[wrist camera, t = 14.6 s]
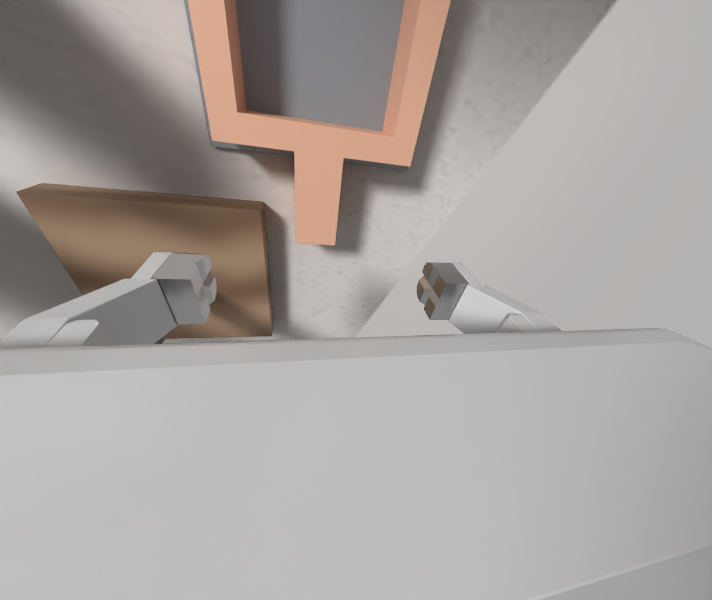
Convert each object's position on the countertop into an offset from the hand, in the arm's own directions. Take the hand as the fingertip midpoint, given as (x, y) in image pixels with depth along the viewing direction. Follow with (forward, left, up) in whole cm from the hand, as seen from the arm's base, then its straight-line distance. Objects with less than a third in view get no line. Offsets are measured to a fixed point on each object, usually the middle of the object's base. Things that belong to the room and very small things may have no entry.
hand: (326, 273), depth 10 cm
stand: (+8, -11, -13) cm, 19 cm away
